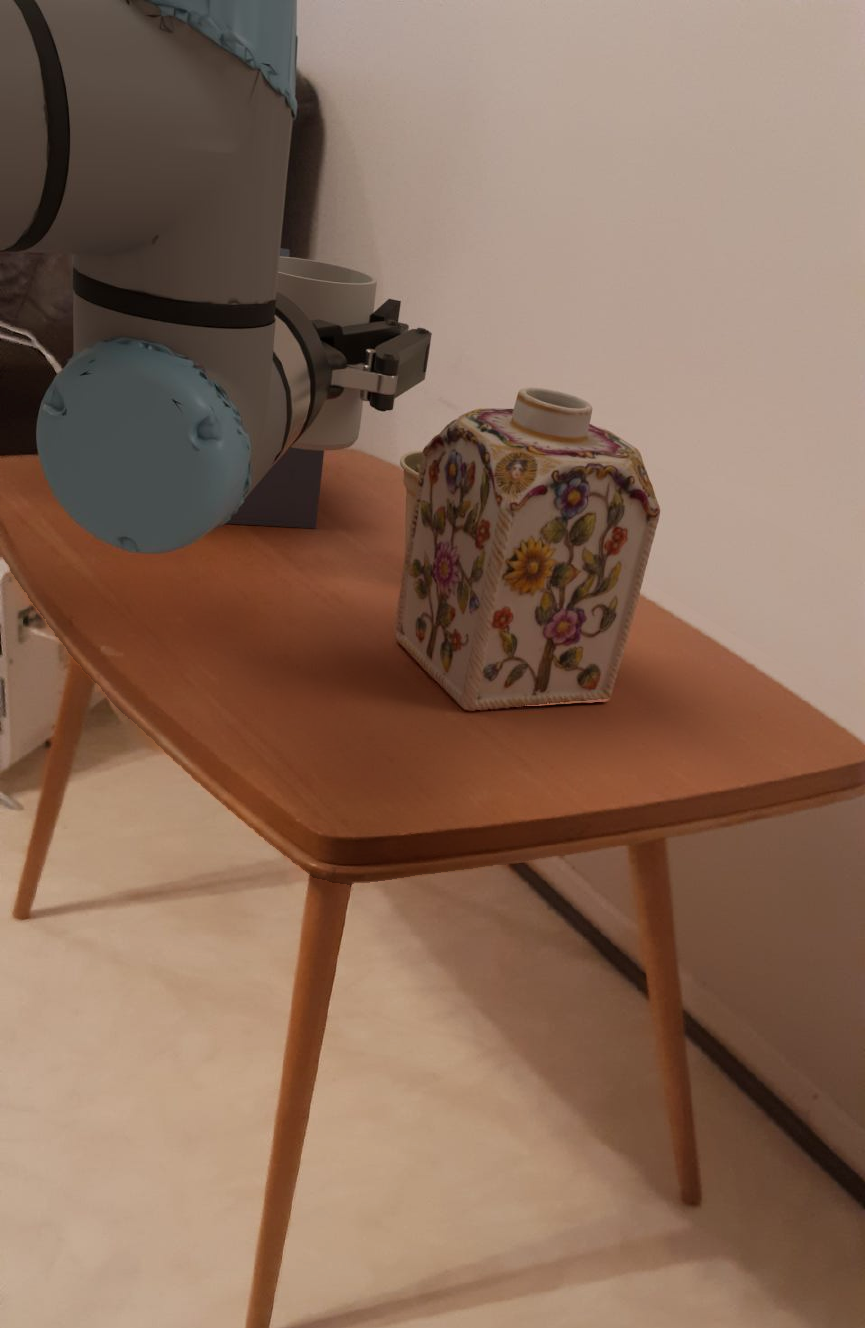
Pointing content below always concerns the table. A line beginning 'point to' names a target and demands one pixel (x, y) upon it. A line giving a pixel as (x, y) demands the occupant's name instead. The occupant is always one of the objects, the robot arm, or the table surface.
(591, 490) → the decorative jar
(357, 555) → the table surface
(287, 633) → the table surface
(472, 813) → the table surface
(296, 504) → the carton
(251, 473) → the robot arm
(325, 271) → the cup
